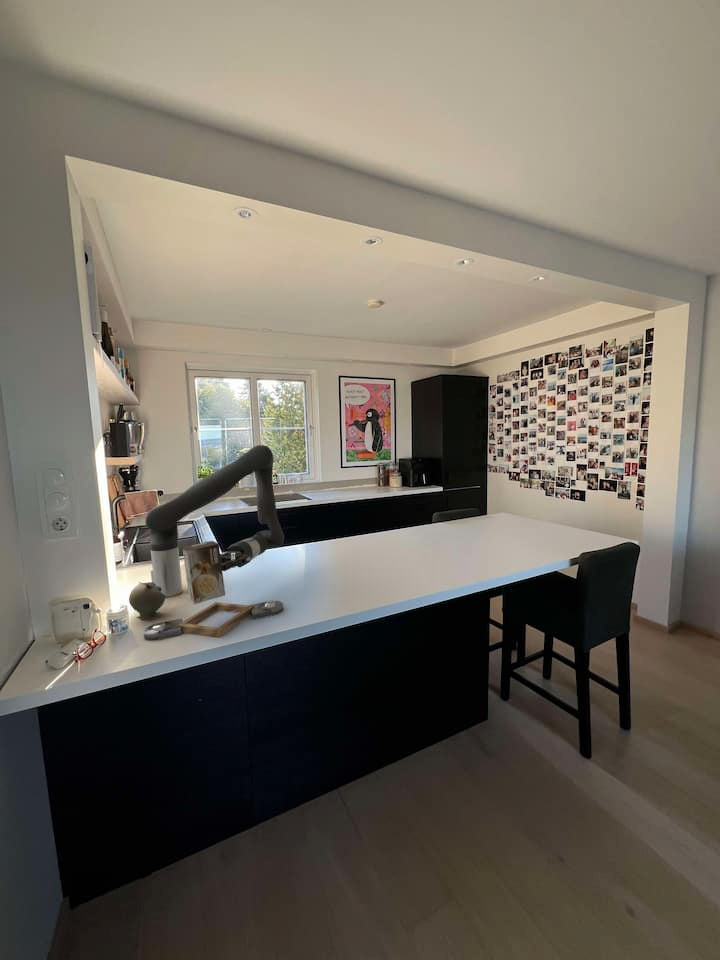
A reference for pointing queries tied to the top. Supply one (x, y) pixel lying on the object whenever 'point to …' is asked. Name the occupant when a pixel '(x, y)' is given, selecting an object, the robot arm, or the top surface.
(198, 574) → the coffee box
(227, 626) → the wooden picture frame
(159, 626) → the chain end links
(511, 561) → the top surface
